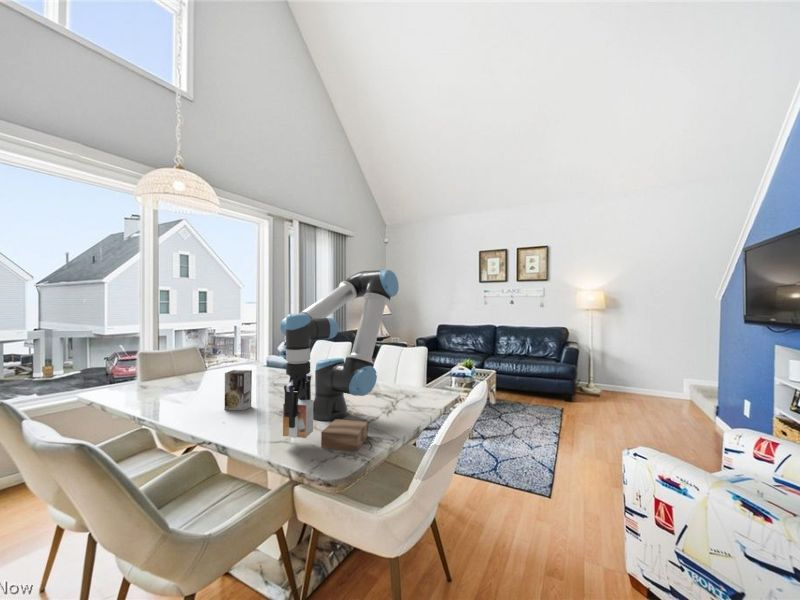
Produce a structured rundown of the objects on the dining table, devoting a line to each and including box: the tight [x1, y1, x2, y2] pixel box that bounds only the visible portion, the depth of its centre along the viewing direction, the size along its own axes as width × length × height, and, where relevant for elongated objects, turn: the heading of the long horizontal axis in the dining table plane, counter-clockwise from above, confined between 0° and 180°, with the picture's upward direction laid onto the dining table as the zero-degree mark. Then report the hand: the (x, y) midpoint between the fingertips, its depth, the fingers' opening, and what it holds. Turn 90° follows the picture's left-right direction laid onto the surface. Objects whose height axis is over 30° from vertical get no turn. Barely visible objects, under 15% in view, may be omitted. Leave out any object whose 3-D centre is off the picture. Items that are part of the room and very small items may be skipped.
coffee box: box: [224, 369, 253, 411], centre depth 142 cm, size 9×6×16 cm
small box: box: [282, 399, 314, 439], centre depth 104 cm, size 8×6×10 cm
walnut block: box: [320, 418, 369, 452], centre depth 108 cm, size 12×12×5 cm
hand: (298, 432), depth 104 cm, fingers closed on small box, 6 cm apart
